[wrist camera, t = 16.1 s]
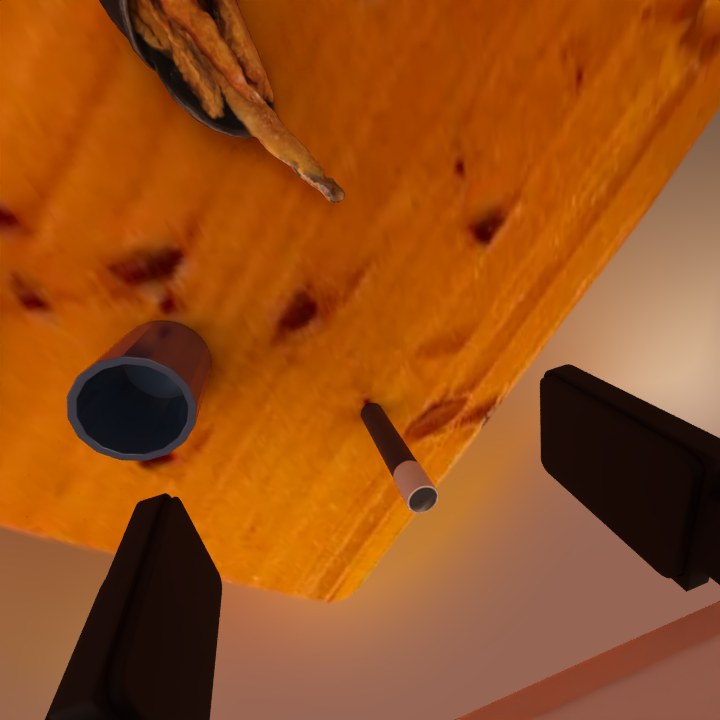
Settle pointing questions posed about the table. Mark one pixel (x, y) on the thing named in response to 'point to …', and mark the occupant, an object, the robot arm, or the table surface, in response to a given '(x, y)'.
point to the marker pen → (400, 461)
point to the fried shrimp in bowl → (215, 73)
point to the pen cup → (142, 392)
